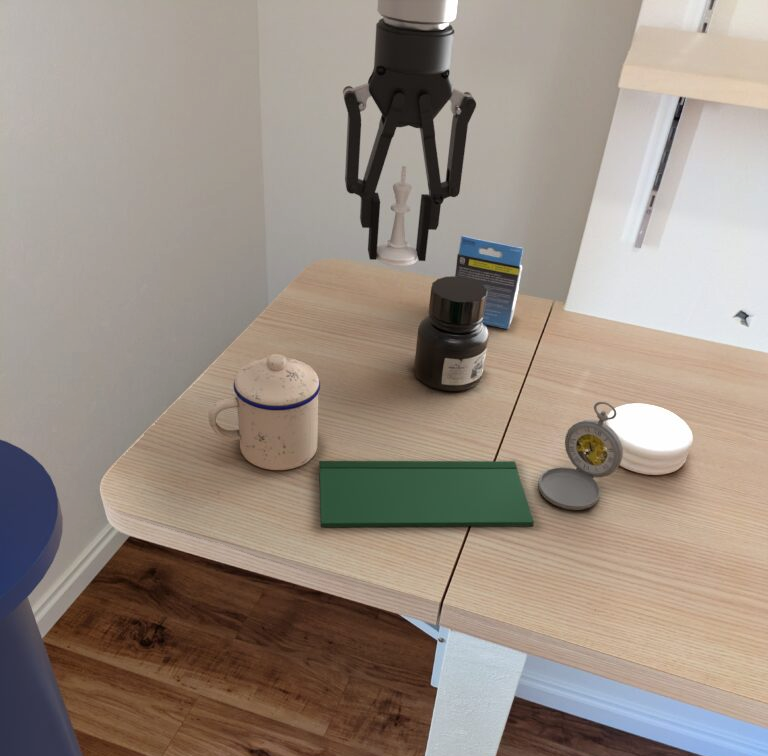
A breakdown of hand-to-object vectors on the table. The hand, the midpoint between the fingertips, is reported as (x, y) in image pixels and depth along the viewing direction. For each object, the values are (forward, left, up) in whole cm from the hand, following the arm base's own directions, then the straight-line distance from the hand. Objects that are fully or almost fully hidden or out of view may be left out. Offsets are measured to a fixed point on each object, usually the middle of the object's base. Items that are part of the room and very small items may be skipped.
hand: (396, 254), depth 91 cm
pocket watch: (+19, -22, -17) cm, 34 cm away
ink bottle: (+8, +1, -17) cm, 19 cm away
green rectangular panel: (+2, -23, -16) cm, 28 cm away
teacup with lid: (-15, -15, -17) cm, 27 cm away
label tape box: (+15, +16, -17) cm, 28 cm away
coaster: (+29, -15, -17) cm, 37 cm away
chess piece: (0, 0, 0) cm, 0 cm away
